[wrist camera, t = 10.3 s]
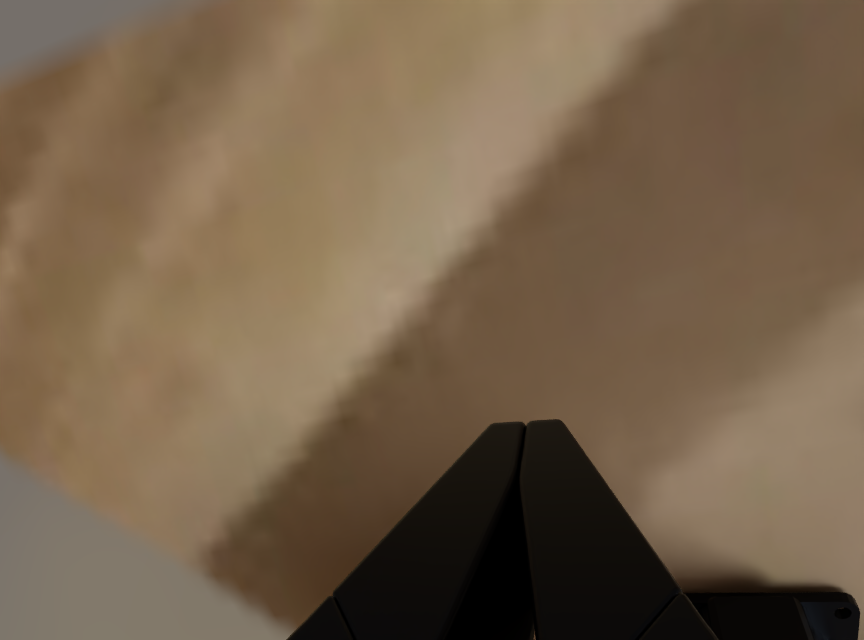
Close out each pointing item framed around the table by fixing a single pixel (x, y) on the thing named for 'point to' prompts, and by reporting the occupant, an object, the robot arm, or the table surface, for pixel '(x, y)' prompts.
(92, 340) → the table surface
